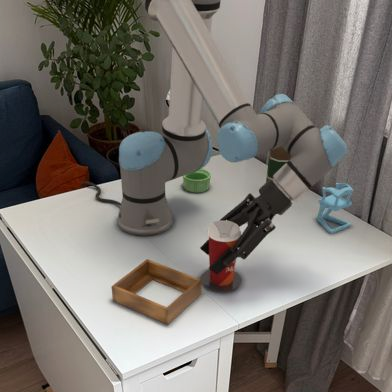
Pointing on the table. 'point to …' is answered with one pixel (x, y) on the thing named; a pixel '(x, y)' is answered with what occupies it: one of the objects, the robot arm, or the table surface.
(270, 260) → the table surface
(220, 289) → the coaster
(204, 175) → the ramekin
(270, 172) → the beer bottle
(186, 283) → the wooden frame
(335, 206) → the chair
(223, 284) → the paper cup
